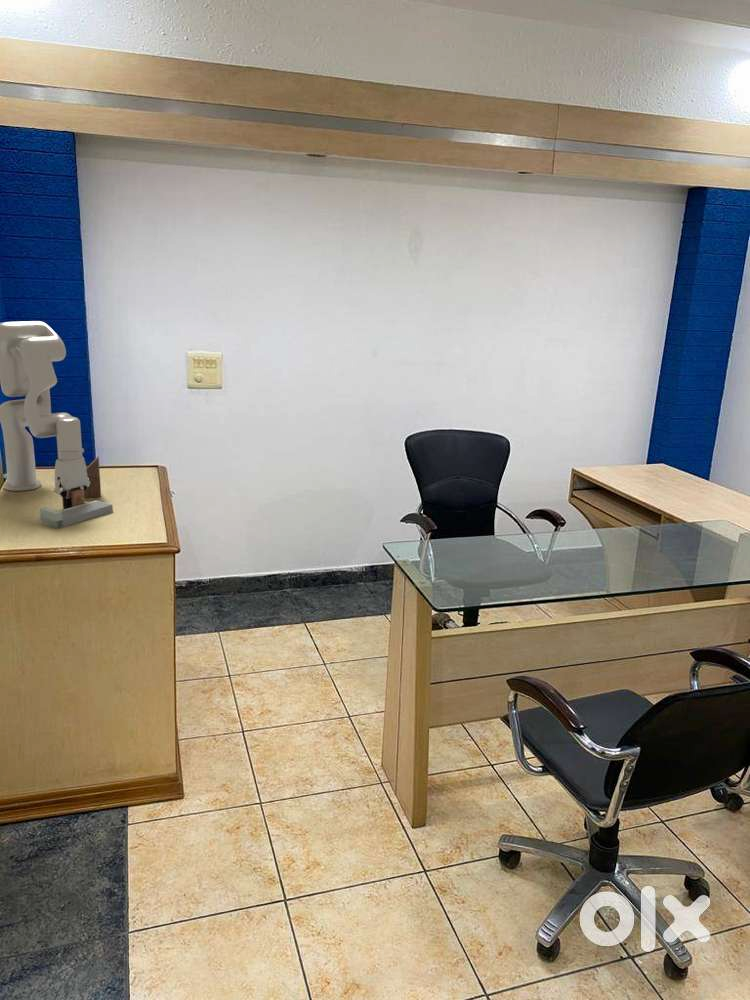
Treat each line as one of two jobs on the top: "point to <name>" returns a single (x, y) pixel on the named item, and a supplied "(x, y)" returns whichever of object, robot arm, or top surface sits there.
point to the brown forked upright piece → (93, 480)
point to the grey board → (74, 514)
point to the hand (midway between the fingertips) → (73, 506)
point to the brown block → (76, 497)
